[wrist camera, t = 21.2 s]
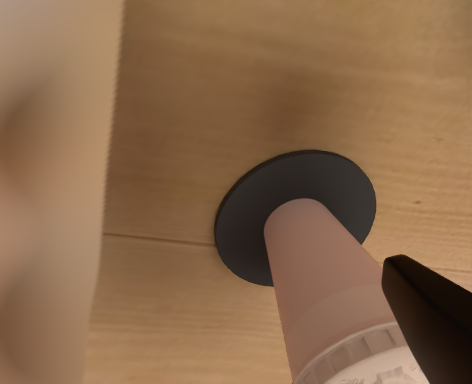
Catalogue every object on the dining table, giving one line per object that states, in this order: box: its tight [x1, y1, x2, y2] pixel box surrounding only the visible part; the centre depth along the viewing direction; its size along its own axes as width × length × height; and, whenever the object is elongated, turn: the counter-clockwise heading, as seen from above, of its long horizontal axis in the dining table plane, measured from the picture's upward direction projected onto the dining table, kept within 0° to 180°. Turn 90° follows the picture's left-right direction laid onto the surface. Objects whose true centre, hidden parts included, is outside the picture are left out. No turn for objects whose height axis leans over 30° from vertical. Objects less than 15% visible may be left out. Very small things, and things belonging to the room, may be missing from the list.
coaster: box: [215, 150, 376, 287], centre depth 21 cm, size 9×9×1 cm
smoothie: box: [264, 198, 430, 384], centre depth 15 cm, size 6×6×14 cm
